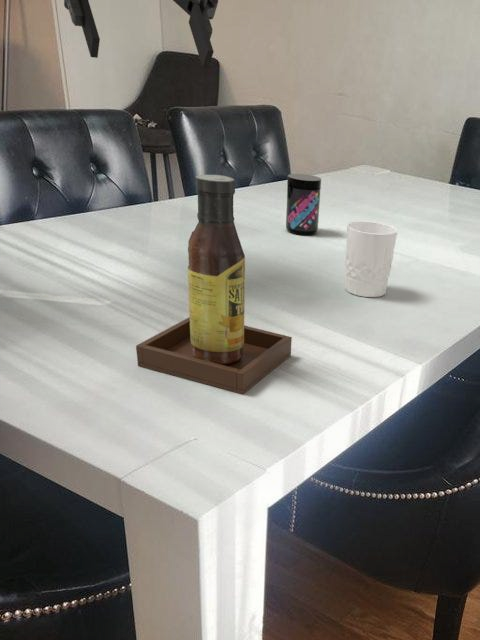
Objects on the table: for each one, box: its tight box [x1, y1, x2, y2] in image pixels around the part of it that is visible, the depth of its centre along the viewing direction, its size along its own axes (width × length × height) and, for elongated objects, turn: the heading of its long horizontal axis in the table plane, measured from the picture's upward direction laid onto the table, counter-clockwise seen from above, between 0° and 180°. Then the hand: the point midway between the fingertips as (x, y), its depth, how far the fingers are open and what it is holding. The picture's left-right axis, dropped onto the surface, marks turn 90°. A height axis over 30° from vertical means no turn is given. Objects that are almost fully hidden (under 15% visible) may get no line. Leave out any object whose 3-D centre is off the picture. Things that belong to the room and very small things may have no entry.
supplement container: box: [285, 173, 322, 236], centre depth 131 cm, size 7×7×10 cm
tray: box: [135, 316, 293, 395], centre depth 77 cm, size 14×13×2 cm
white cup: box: [344, 220, 398, 298], centre depth 104 cm, size 8×8×10 cm
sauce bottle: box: [187, 174, 246, 365], centre depth 72 cm, size 6×6×20 cm
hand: (154, 54), depth 78 cm, fingers open, 13 cm apart
